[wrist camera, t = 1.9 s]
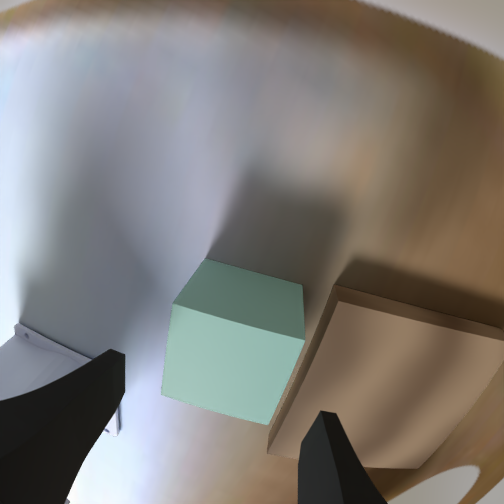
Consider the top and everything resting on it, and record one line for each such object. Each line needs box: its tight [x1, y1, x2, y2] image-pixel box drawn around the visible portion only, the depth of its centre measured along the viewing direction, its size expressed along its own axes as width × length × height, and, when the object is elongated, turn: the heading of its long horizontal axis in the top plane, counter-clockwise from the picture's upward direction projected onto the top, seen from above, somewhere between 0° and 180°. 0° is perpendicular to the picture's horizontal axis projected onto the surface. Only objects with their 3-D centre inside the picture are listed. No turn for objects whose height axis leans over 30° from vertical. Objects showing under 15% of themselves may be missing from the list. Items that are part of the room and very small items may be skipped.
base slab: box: [267, 284, 504, 469], centre depth 17 cm, size 12×12×2 cm
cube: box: [161, 258, 305, 425], centre depth 15 cm, size 5×5×5 cm
